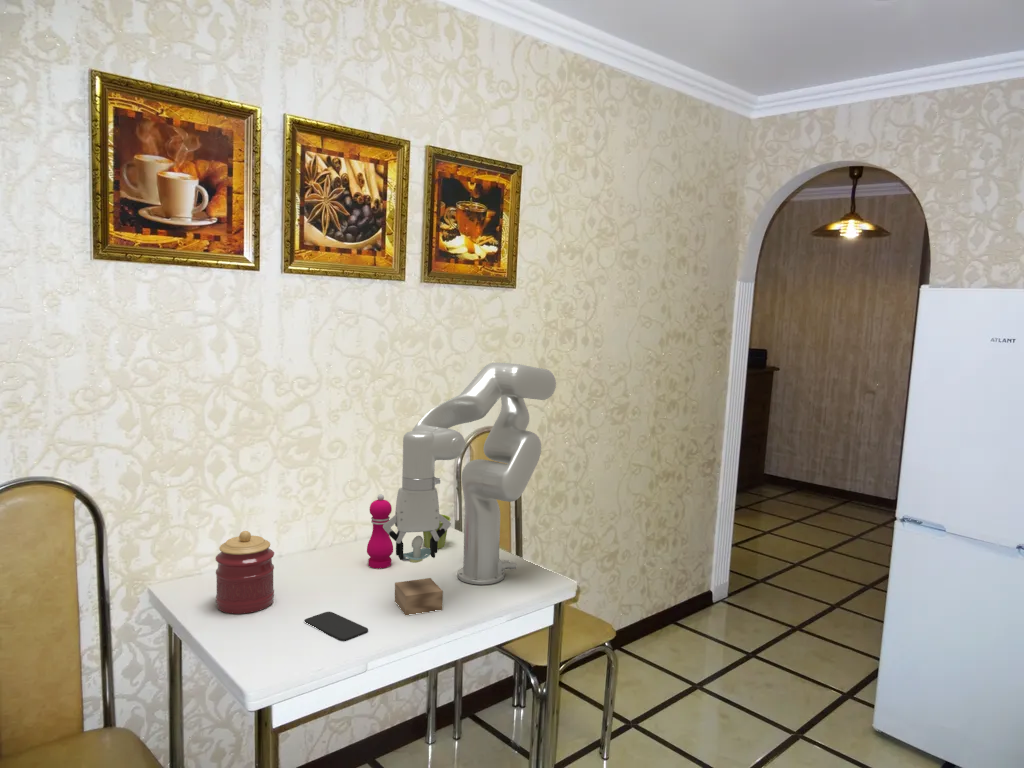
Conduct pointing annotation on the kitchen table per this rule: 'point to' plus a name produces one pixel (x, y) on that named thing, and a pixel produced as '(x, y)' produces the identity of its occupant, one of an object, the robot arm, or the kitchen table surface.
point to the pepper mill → (380, 535)
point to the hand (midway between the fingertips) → (416, 556)
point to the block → (418, 596)
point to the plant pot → (442, 539)
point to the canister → (244, 574)
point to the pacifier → (417, 551)
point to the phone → (337, 626)
